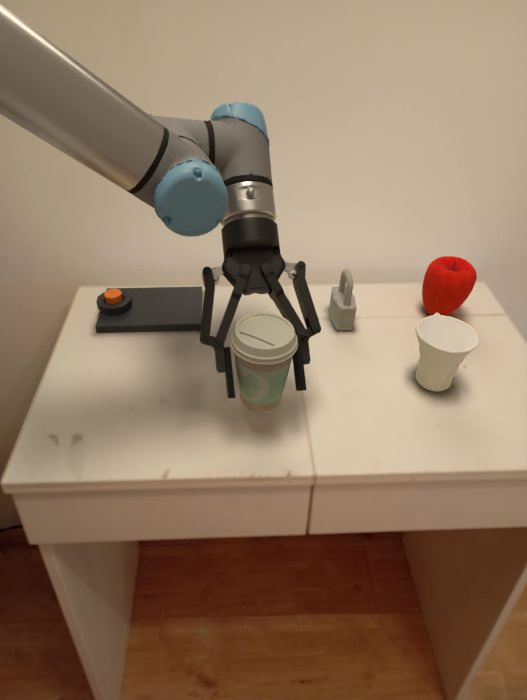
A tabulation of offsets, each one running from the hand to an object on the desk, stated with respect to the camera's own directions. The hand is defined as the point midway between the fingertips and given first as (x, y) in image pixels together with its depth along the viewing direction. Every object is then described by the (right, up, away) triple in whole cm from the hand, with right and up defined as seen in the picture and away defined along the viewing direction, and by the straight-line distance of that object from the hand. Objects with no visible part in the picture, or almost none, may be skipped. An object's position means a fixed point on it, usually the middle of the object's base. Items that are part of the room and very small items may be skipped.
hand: (266, 394), depth 61 cm
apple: (+33, +13, +29) cm, 45 cm away
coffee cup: (-1, -1, +5) cm, 5 cm away
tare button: (-27, +15, +23) cm, 39 cm away
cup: (+26, +1, +14) cm, 30 cm away
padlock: (+14, +11, +26) cm, 31 cm away
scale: (-21, +13, +26) cm, 35 cm away
